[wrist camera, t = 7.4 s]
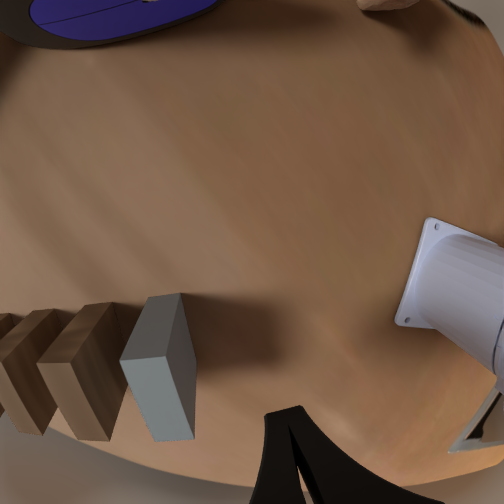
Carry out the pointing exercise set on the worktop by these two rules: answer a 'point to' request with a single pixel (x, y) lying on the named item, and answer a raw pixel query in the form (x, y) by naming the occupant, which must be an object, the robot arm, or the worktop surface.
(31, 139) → the worktop surface
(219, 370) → the worktop surface
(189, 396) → the slate domino
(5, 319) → the domino
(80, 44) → the dark grey curved shell
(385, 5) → the oil lamp
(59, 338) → the domino
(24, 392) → the domino
